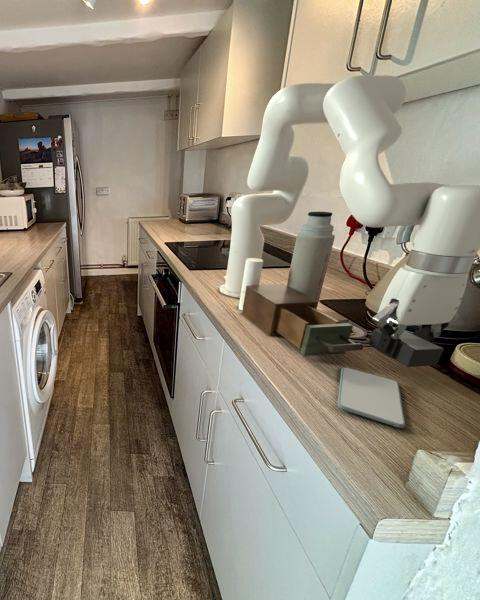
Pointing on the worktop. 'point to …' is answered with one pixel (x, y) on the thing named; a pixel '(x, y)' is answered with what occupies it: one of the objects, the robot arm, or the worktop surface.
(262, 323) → the cabinet
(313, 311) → the drawer
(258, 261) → the tube
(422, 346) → the gray rectangular block
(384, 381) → the smartphone
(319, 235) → the thermos bottle
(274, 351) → the worktop surface
